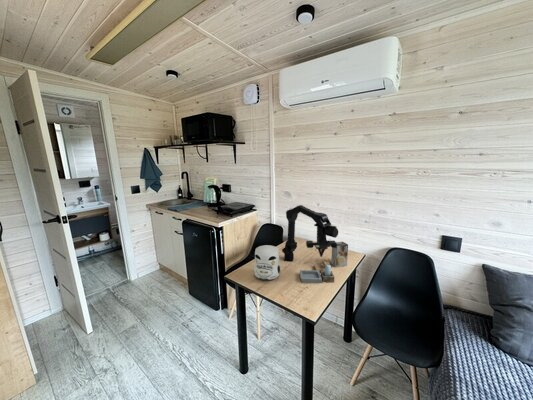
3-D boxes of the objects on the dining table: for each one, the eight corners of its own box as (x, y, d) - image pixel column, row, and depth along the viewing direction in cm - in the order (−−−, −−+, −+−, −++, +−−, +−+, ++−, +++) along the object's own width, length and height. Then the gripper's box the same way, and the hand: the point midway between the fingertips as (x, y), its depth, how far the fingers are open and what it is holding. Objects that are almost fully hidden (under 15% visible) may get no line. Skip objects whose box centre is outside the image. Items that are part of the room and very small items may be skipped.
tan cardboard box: (316, 273, 145) (316, 270, 144) (314, 267, 154) (314, 263, 153) (325, 274, 145) (325, 270, 144) (322, 267, 153) (323, 263, 153)
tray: (301, 282, 134) (301, 278, 134) (299, 273, 145) (300, 270, 144) (321, 283, 134) (321, 279, 133) (318, 274, 144) (318, 270, 143)
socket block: (322, 281, 135) (322, 276, 134) (320, 275, 142) (320, 270, 141) (334, 282, 134) (334, 277, 134) (331, 276, 141) (331, 271, 141)
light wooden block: (324, 271, 147) (325, 264, 146) (323, 268, 151) (324, 261, 150) (329, 271, 147) (329, 264, 146) (328, 268, 151) (328, 261, 150)
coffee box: (341, 261, 161) (343, 241, 157) (347, 265, 155) (348, 244, 151) (330, 263, 158) (332, 242, 155) (335, 267, 152) (337, 246, 149)
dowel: (324, 280, 136) (325, 267, 135) (323, 277, 140) (324, 264, 138) (330, 280, 136) (331, 267, 134) (329, 277, 140) (330, 264, 138)
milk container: (259, 285, 132) (258, 258, 128) (250, 271, 147) (249, 246, 144) (284, 279, 138) (285, 253, 134) (273, 266, 154) (273, 242, 150)
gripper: (308, 238, 130) (308, 262, 133) (339, 237, 129) (339, 262, 132) (306, 232, 141) (305, 254, 144) (335, 231, 140) (334, 254, 143)
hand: (321, 256), depth 140 cm, fingers closed
